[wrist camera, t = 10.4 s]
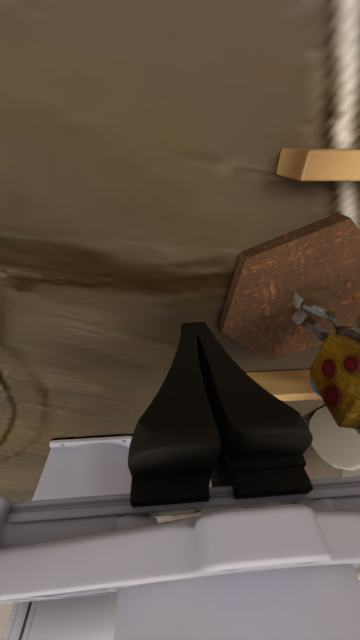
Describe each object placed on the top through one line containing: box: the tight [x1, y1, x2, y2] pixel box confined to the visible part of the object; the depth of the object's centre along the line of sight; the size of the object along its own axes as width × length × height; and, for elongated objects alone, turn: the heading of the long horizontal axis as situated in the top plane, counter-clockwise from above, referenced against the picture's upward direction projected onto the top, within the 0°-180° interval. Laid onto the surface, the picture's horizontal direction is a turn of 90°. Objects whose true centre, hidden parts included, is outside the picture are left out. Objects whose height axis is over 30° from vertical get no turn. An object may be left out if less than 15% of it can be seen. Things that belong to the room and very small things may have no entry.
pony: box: [304, 406, 360, 578], centre depth 23 cm, size 20×10×17 cm, turn 145°
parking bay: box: [245, 148, 360, 401], centre depth 15 cm, size 14×17×2 cm
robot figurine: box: [219, 213, 360, 434], centre depth 11 cm, size 11×9×12 cm
